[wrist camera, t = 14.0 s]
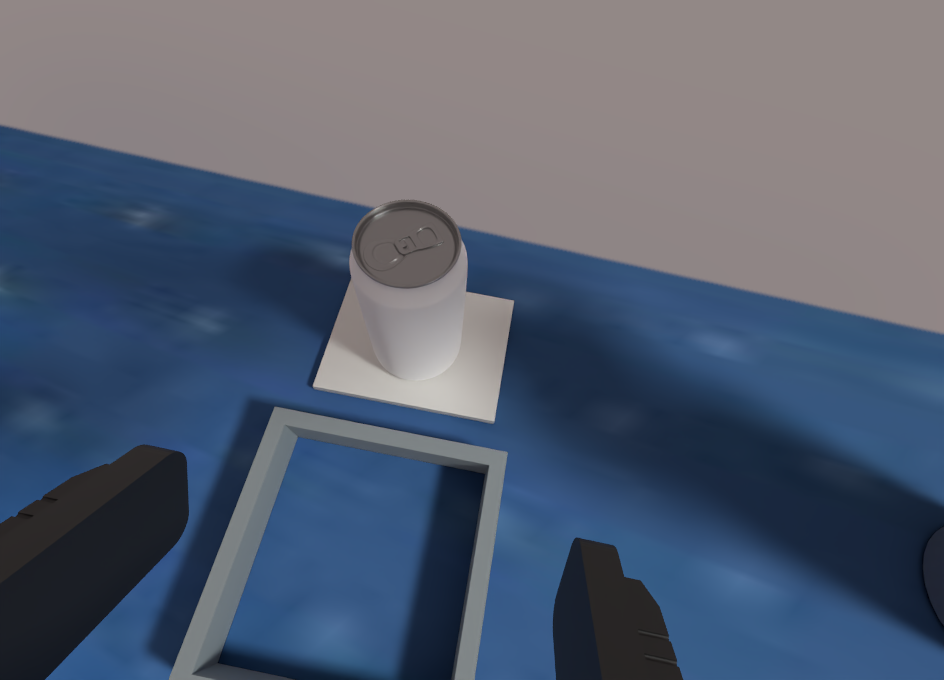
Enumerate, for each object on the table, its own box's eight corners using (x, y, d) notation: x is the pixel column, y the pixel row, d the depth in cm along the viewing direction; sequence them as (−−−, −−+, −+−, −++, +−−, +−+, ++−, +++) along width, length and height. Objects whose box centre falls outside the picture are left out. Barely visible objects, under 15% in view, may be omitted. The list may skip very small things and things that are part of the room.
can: (359, 326, 35) (323, 218, 24) (436, 292, 37) (433, 178, 26) (397, 398, 33) (375, 315, 22) (476, 358, 34) (493, 263, 23)
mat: (513, 304, 37) (514, 300, 37) (493, 423, 33) (494, 421, 32) (355, 274, 37) (353, 270, 37) (314, 389, 33) (312, 386, 33)
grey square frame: (501, 461, 32) (507, 452, 29) (460, 738, 25) (462, 758, 22) (288, 419, 32) (274, 406, 29) (192, 681, 25) (162, 694, 23)
